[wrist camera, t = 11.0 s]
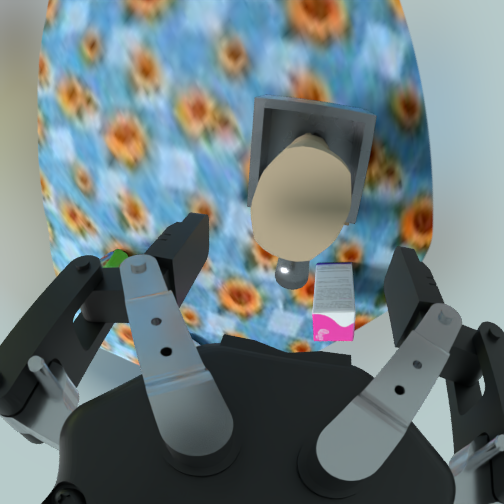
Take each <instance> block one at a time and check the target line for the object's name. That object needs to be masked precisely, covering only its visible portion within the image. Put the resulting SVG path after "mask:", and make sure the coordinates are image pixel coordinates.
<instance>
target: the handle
mask: <svg viewBox="0 0 504 504" xmlns="http://www.w3.org/2000/svg"><path fill="white" fill-rule="evenodd" d="M350 208H351V174H350V171H349V168H348V167H347V165H346V164H345V163H344V161H343V160H342V159H341V158H340V157H339V156H338V155H336V154H335V153H333V152H332V151H330V149H329V147H328V145H327V144H326V142H325V140H324V139H323V138H322V137H318V136H316V135H312V134H311V133H306V134H305V135H302V136H300V137H298V138H297V139H295V140H294V141H293V142H292V143H291V144H290V145H289V146H288V147H287V148H285V149H284V150H283V151H282V152H281V153H280V154H279V155H278V156H277V157H276V158H275V159H274V160H273V161H272V162H271V163H270V164H269V165H268V166H267V168H266V169H265V170H264V172H263V173H262V175H261V177H260V180H259V182H258V185H257V188H256V191H255V194H254V197H253V200H252V205H251V221H252V228H253V233H254V239H255V241H256V242H257V243H258V244H259V245H260V246H261V247H262V248H263V249H264V250H266V251H267V252H269V253H270V254H272V255H275V256H277V257H279V258H282V259H285V260H289V261H296V262H299V261H310V260H311V259H313V258H314V257H315V256H317V255H318V254H320V253H321V252H322V251H324V250H325V249H326V248H327V247H329V246H330V245H331V244H332V243H333V242H334V241H335V239H336V238H337V236H338V235H339V233H340V231H341V229H342V227H343V225H344V223H345V221H346V219H347V217H348V214H349V211H350Z"/></svg>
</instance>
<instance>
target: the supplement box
mask: <svg viewBox="0 0 504 504" xmlns="http://www.w3.org/2000/svg"><path fill="white" fill-rule="evenodd" d="M312 316H313V335H314V341H353V338H354V329H355V297H354V284H353V272H352V262H339V263H317V264H316V276H315V289H314V302H313V312H312Z"/></svg>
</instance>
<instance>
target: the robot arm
mask: <svg viewBox="0 0 504 504" xmlns="http://www.w3.org/2000/svg"><path fill="white" fill-rule="evenodd" d="M208 252H209V217H208V215H206V214H199V213H189V214H188V216H187V217H186V218H185V219H184V220H183V221H182V222H176V223H174V224H172V225H170V226H169V227H167V228H166V230H165V231H164V232H163V233H162V234H161V235H160V236H159V237H158V240H156V241H155V242H154V243H153V244H152V245H151V247H150V248H149V249H148V250H147V251H146V252H145V253H144V254H139V255H134V256H131V257H128V258H127V259H125V260H124V261H123V262H122V263H121V265H120V267H110V268H102V266H101V262H100V259H99V258H97V257H96V256H91V255H86V256H81V257H78V258H76V259H74V260H73V261H71V262H70V263H69V264H68V265H67V266H66V267H65V269H64V270H63V271H62V272H61V273H60V274H59V275H58V276H57V277H56V278H55V280H54V281H53V282H52V283H51V284H50V285H49V286H48V287H47V288H46V290H45V291H44V292H43V293H42V294H41V295H40V296H39V298H38V299H37V300H36V301H35V302H34V303H33V305H32V306H31V307H30V308H29V309H28V311H27V312H26V313H25V314H24V316H23V317H22V318H21V320H19V322H18V323H17V324H16V326H15V327H14V328H13V329H12V331H11V332H10V333H9V335H8V336H7V337H6V339H5V340H4V341H3V343H2V344H1V345H0V416H1V417H2V418H3V419H4V420H5V421H6V422H7V423H8V424H9V425H10V426H11V427H13V428H14V429H15V430H16V431H17V432H19V433H20V434H22V435H23V436H24V437H25V438H26V439H28V440H29V441H30V442H32V443H35V444H41V443H46V444H48V445H50V446H51V447H53V448H55V449H57V450H59V454H60V458H59V472H58V477H57V481H56V484H55V486H54V488H53V490H52V492H51V493H50V494H49V495H48V497H47V498H46V499H45V500H44V501H43V502H42V503H41V504H504V332H503V331H502V329H500V327H498V326H497V325H496V324H494V323H491V322H483V323H482V324H481V325H480V326H479V328H478V330H475V329H472V328H469V327H467V326H464V325H462V319H461V316H460V315H459V313H458V312H457V311H456V310H455V309H454V308H452V307H451V306H448V305H446V304H444V302H443V299H442V296H441V294H440V292H439V289H438V287H437V286H436V282H435V280H434V279H433V275H432V273H431V271H430V269H429V268H428V267H427V266H426V265H425V264H424V263H423V262H420V261H419V259H418V256H417V254H416V252H415V250H414V249H411V248H406V247H400V246H397V247H396V249H395V251H394V254H393V257H392V260H391V263H390V265H389V268H388V271H387V274H386V277H385V281H384V293H385V297H386V302H387V307H388V312H389V316H390V322H391V327H392V332H393V338H394V344H395V347H398V348H399V349H398V350H397V351H396V353H395V354H394V355H393V356H392V358H391V359H390V360H389V361H388V363H387V364H386V365H385V366H384V367H383V368H382V370H381V371H380V372H379V373H378V375H377V376H376V377H375V378H374V377H373V376H371V375H370V374H369V373H367V372H365V371H364V370H362V369H360V368H358V367H356V366H353V365H351V355H346V354H338V353H330V352H323V351H315V352H296V353H287V352H283V351H281V350H278V349H276V348H273V347H270V346H268V345H265V344H263V343H260V342H258V341H255V340H251V339H245V338H240V337H235V336H231V335H226V334H224V335H223V338H222V341H221V343H213V344H205V345H200V346H197V347H195V345H194V342H193V340H192V338H191V335H190V333H189V331H188V329H187V326H186V324H185V322H184V319H183V317H182V314H181V312H180V310H179V308H180V306H181V304H182V302H183V301H184V299H185V297H186V295H187V293H188V292H189V290H190V288H191V286H192V284H193V283H194V281H195V279H196V277H197V276H198V274H199V272H200V270H201V269H202V267H203V265H204V263H205V262H206V260H207V257H208ZM79 308H80V309H81V313H80V314H79V315H78V317H77V318H76V319H75V321H74V322H73V318H74V316H75V314H76V312H77V311H78V310H79ZM114 323H130V328H131V332H132V337H133V341H134V345H135V349H136V353H137V357H138V361H139V364H140V368H141V372H142V374H141V375H139V376H138V377H136V378H134V379H132V380H130V381H128V382H126V383H124V384H122V385H120V386H118V387H116V388H114V389H112V390H110V391H108V392H106V393H104V394H102V395H100V396H98V397H96V398H94V399H92V400H90V401H88V402H86V403H84V404H82V405H80V406H79V407H77V405H78V402H79V393H78V390H77V389H76V388H77V386H78V384H79V383H80V381H81V379H82V377H83V375H84V374H85V372H86V370H87V368H88V366H89V364H90V363H91V361H92V359H93V358H94V356H95V354H96V352H97V351H98V349H99V347H100V346H101V344H102V342H103V341H104V339H105V337H106V336H107V334H108V332H109V331H110V329H111V327H112V326H113V324H114ZM482 375H483V378H484V382H485V391H484V394H483V396H482V394H481V390H480V385H479V381H478V380H479V379H480V378H481V377H482ZM439 376H440V377H442V378H445V379H446V385H447V392H448V398H449V405H450V412H451V422H452V431H453V442H454V455H453V457H452V458H451V460H450V462H449V466H448V465H447V463H446V462H445V461H444V460H443V458H442V457H441V456H440V455H439V454H438V452H437V451H436V450H435V449H434V447H433V446H432V445H431V444H430V443H429V441H428V440H427V439H426V438H425V437H424V436H423V434H422V433H421V432H420V431H419V429H418V428H417V427H416V426H415V425H414V423H413V422H412V420H413V418H414V416H415V415H416V413H417V412H418V410H419V409H420V407H421V406H422V404H423V402H424V401H425V399H426V397H427V396H428V394H429V392H430V391H431V389H432V387H433V385H434V384H435V382H436V380H437V378H438V377H439Z"/></svg>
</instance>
